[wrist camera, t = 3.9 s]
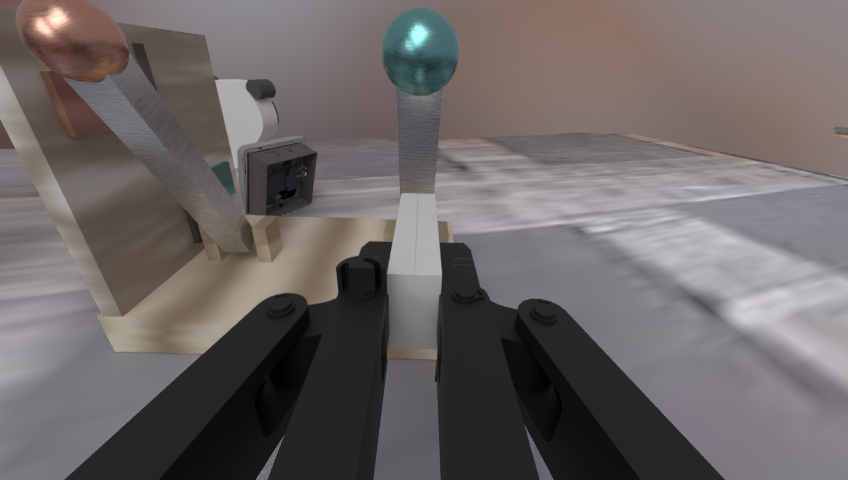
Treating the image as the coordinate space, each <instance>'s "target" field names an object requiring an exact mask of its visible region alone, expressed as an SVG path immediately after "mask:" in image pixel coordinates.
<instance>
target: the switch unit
mask: <svg viewBox="0 0 848 480" xmlns="http://www.w3.org/2000/svg"><path fill="white" fill-rule="evenodd" d="M16 11H17V8H15V7H8V6H1V5H0V119H1V121H2V123H3V125H4V127H5V129H6V131H7V133H8V135H9V137H10V138H11V141H12V143H13V144H14V146H15V148H16V150H17V152H18V154H19V156H20V158H21V160H22V162H23V164H24V166H25V168H26V170H27V171H28V173H29V175H30V177H31V179H32V181H33V183H34V185H35V187H36V189H37V191H38V193H39V195H40V196H41V198H42V200H43V202H44V204H45V206H46V208H47V210H48V212H49V214H50V216H51V218H52V220H53V221H54V223H55V225H56V227H57V229H58V231H59V233H60V235H61V237H62V239H63V241H64V243H65V245H66V246H67V248H68V250H69V252H70V254H71V256H72V258H73V260H74V262H75V264H76V266H77V268H78V270H79V271H80V273H81V275H82V277H83V279H84V281H85V283H86V285H87V287H88V289H89V291H90V293H91V295H92V297H93V298H94V300H95V302H96V304H97V306H98V308H99V310H100V312H101V313H100V314H98V315H97V316H96V317H97V319H98V320H99V322H100V324H101V326H102V328H103V330H104V332H105V334H106V336H107V337H108V339H109V341H110V343H111V345H112V347H113V349H114V351H115V352H139V353H180V354H204V353H205V352H206V351H207V350H208V349H209V348H210V347H211V346H212V345H213V344H215V343H216V342H217V341H218V340H219V339H220V338H221V337H222V336H223V335H225V334H226V333H227V332H228V331H229V330H230V329H231V328H232V327H233V326H234V325H236V324H237V323H238V322H239V321H240V320H241V319H242V318H243V317H244V316H245V315H247V314H248V313H249V312H250V311H251V310H252V309H253V308H254V307H255V306H256V305H258V304H259V303H260V302H262V301H263V300H265V299H266V298H268V297H271V296H274V295H276V294H282V293H296V294H299V295H302V296H303V297H304V298H305V299H306V300H307V303H308V305H311V304H317V303H322V302H326V301H330V300H332V299H335V298H336V297H337V295H338V284H337V274H336V266H337V265H338V264H339V263H340V262H341V261H343V260H345V259H346V258H350V257H354V256H359V253H360V250H361V247H363V246H364V245H365V244H366V243H367V242H369V241H383V242H393V237H394V232H395V226H396V221H397V220H388V219H356V218H325V217H294V216H263V215H246V214H245V210H244V205H243V201H242V197H241V192H240V188H239V184H238V179H237V175H236V170H235V166H234V162H233V157H232V153H231V148H230V144H229V140H228V135H227V131H226V126H225V122H224V118H223V113H222V109H221V104H220V100H219V96H218V91H217V87H216V82H215V78H214V74H213V69H212V65H211V61H210V56H209V52H208V48H207V43H206V39H205V36H204V35H198V34H191V33H184V32H177V31H170V30H163V29H157V28H150V27H144V26H137V25H130V24H123V23H117V25H118V26H119V27H120V29H121V30H122V32H123V34H124V35H125V38H126V40H127V43H128V46H129V53H130V54H131V55H132V57H133V58H134V60H135V61H136V63H137V64H138V65H139V67H140V68H141V70H142V71H143V73H144V74H145V75H146V77H147V78H148V80H149V81H150V82H151V84H152V85H153V87H154V88H155V90H156V91H157V92H158V94H159V95H160V97H161V98H162V100H163V101H164V102H165V104H166V105H167V107H168V108H169V109H170V111H171V112H172V114H173V115H174V117H175V118H176V119H177V121H178V122H179V124H180V125H181V127H182V128H183V129H184V131H185V132H186V134H187V135H188V137H189V138H190V139H191V141H192V142H193V144H194V145H195V146H196V148H197V149H198V151H199V152H200V154H201V155H202V156H203V158H204V159H205V161H206V162H207V164H208V165H209V166H210V168H211V169H212V171H213V172H214V173H215V175H216V176H217V178H218V179H219V181H220V182H221V183H222V185H223V186H224V188H225V189H226V191H227V192H228V193H229V195H230V196H231V198H232V199H233V200H234V202H235V203H236V205H237V206H238V208H239V209H240V210H241V212H242V213H243V215H244V216H245V218H246V219H247V220H248V222H249V223H250V225H251V226H252V227H253V228H252V232H253V236H254V243H253V246H252V249H251V252H250V253H248V252H224V251H223V250H222V249H221V248H220V246H219V245H218V244H217V243H216V242H215V241H214V240H213V239H212V238H211V237H210V236H209V235H208V234H207V232H206V231H205V230H204V229H203V228H202V227H201V226H200V225H199V224H198V223H197V222H196V221H195V220H194V218H193V217H192V216H191V215H190V214H189V213H188V212H187V211H186V210H185V209H184V208H183V207H182V206H181V204H180V203H179V202H178V201H177V200H176V199H175V198H174V197H173V196H172V195H171V194H170V193H169V191H168V190H167V189H166V188H165V187H164V186H163V185H162V184H161V183H160V182H159V181H158V180H157V179H156V177H155V176H154V175H153V174H152V173H151V172H150V171H149V170H148V169H147V168H146V167H145V166H144V165H143V163H142V162H141V161H140V160H139V159H138V158H137V157H136V156H135V155H134V154H133V153H132V152H131V151H130V149H129V148H128V147H127V146H126V145H125V144H124V143H123V142H122V141H121V140H120V139H119V138H118V136H117V135H116V134H115V133H114V132H113V131H112V130H111V129H110V128H109V127H108V126H107V125H106V124H105V122H104V121H103V120H102V119H101V118H100V117H99V116H98V115H97V114H96V113H95V112H94V111H93V110H92V108H91V107H90V106H89V105H88V104H87V103H86V102H85V101H84V100H83V99H82V98H81V97H80V96H79V94H78V93H77V92H76V91H75V90H74V89H73V88H72V87H71V86H70V85H69V84H68V83H67V81H66V80H65V79H64V78H63V77H62V76H61V75H59V74H57V73H55V72H53V71H51V70H50V69H48V68H47V67H45V66H44V65H42V64H41V63H40V62H39V61H37V60H36V59H35V58H34V57H33V56H32V55H31V54H30V52H29V51H28V50H27V49H26V48H25V46H24V45H23V43H22V41H21V39H20V37H19V35H18V32H17V29H16V24H15V15H16ZM437 222H438V234H439V242H445V243H454V239H453V233H452V228H451V222H450V221H437ZM387 359H424V360H437V350H433V349H395V348H387Z"/></svg>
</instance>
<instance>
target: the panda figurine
mask: <svg viewBox="0 0 848 480" xmlns="http://www.w3.org/2000/svg"><path fill="white" fill-rule="evenodd" d="M214 78H215V82H216V87H217V91H218V96H219V100H220V104H221V109H222V113H223V118H224V122H225V126H226V131H227V135H228V140H229V144H230V148H231V153H232V157H233V162H234V166H235V170H236V175H237V179H238V158H237V151H238V149H239V148H240V147H241V146H242V145H247V144H252V143H258V142H263V141H268V140H269V139H270V138H271V137H272V136H273V135H274V133H275V131H276V128H277V124H278V123H279V117H278V113H277V110H276V107H275V106H274V103H273V102H272V101H271V100H270V98H272V97H274V96H275V93H276V90H275V87H274V85H273V84H272V82H271V81H269V80H267V79H261V80H248V81H246V80H241V79H229V80H228V79H227V80H226V79H225V80H219V79H218V78H217V77H215V76H214Z"/></svg>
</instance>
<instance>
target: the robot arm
mask: <svg viewBox="0 0 848 480" xmlns="http://www.w3.org/2000/svg"><path fill="white" fill-rule="evenodd" d="M336 274H337V284H338V295H337V297H336V298H335V299H332V300H330V301H326V302H322V303H317V304H311V305H308V303H307V300H306V299H305V298H304V297H303V296H302V295H299V294H296V293H282V294H276V295H274V296H271V297H268V298H266V299H265V300H263V301H262V302H260V303H259V304H258V305H256V306H255V307H254V308H253V309H252V310H251V311H250V312H249V313H248V314H247V315H245V316H244V317H243V318H242V319H241V320H240V321H239V322H238V323H237V324H236V325H234V326H233V327H232V328H231V329H230V330H229V331H228V332H227V333H226V334H225V335H223V336H222V337H221V338H220V339H219V340H218V341H217V342H216V343H215V344H213V345H212V346H211V347H210V348H209V349H208V350H207V351H206V352H205V353H204V354H202V355H201V356H200V357H199V358H198V359H197V360H196V361H195V362H194V363H193V364H191V365H190V366H189V367H188V368H187V369H186V370H185V371H184V372H183V373H182V374H180V375H179V376H178V377H177V378H176V379H175V380H174V381H173V382H172V383H171V384H169V385H168V386H167V387H166V388H165V389H164V390H163V391H162V392H161V393H159V394H158V395H157V396H156V397H155V398H154V399H153V400H152V401H151V402H150V403H148V404H147V405H146V406H145V407H144V408H143V409H142V410H141V411H140V412H139V413H137V414H136V415H135V416H134V417H133V418H132V419H131V420H130V421H129V422H128V423H126V424H125V425H124V426H123V427H122V428H121V429H120V430H119V431H118V432H117V433H115V434H114V435H113V436H112V437H111V438H110V439H109V440H108V441H107V442H106V443H104V444H103V445H102V446H101V447H100V448H99V449H98V450H97V451H96V452H94V453H93V454H92V455H91V456H90V457H89V458H88V459H87V460H86V461H85V462H83V463H82V464H81V465H80V466H79V467H78V468H77V469H76V470H75V471H74V472H72V473H71V474H70V475H69V476H68V477H67V478H66V479H65V480H256V478H257V477H258V475H259V473H260V472H261V470H262V469H263V467H264V466H265V464H266V462H267V461H268V459H269V458H270V456H271V455H272V453H273V451H274V450H275V448H276V447H277V445H278V443H279V442H280V440H281V439H282V437H283V436H284V438H283V440H282V443H281V446H280V448H279V451H278V454H277V456H276V459H275V462H274V464H273V467H272V470H271V472H270V475H269V478H268V480H373V478H374V469H375V461H376V453H377V445H378V436H379V428H380V420H381V412H382V403H383V395H384V387H385V379H386V370H387V348H395V349H433V350H437V361H436V375H435V381H437V393H438V420H439V446H440V473H441V480H539V476H538V472H537V469H536V465H535V462H534V458H533V454H532V451H531V447H530V444H529V440H528V436H527V433H526V429H525V426H526V428H527V430H528V432H529V434H530V435H531V437H532V439H533V441H534V443H535V445H536V447H537V449H538V451H539V452H540V454H541V456H542V458H543V460H544V462H545V464H546V466H547V467H548V469H549V471H550V473H551V475H552V477H553V479H554V480H725V479H724V478H723V477H722V476H721V475H720V474H719V473H718V472H717V471H716V470H715V469H714V468H713V467H712V466H711V465H710V463H709V462H708V461H707V460H706V459H705V458H704V457H703V456H702V455H701V454H700V453H699V452H698V451H697V450H696V449H695V448H694V447H693V445H692V444H691V443H690V442H689V441H688V440H687V439H686V438H685V437H684V436H683V435H682V434H681V433H680V432H679V431H678V430H677V428H676V427H675V426H674V425H673V424H672V423H671V422H670V421H669V420H668V419H667V418H666V417H665V416H664V415H663V414H662V413H661V411H660V410H659V409H658V408H657V407H656V406H655V405H654V404H653V403H652V402H651V401H650V400H649V399H648V398H647V397H646V396H645V395H644V393H643V392H642V391H641V390H640V389H639V388H638V387H637V386H636V385H635V384H634V383H633V382H632V381H631V380H630V379H629V378H628V376H627V375H626V374H625V373H624V372H623V371H622V370H621V369H620V368H619V367H618V366H617V365H616V364H615V363H614V362H613V361H612V360H611V358H610V357H609V356H608V355H607V354H606V353H605V352H604V351H603V350H602V349H601V348H600V347H599V346H598V345H597V344H596V343H595V341H594V340H593V339H592V338H591V337H590V336H589V335H588V334H587V333H586V332H585V331H584V330H583V329H582V328H581V327H580V326H579V324H578V323H577V322H576V321H575V320H574V319H573V318H572V317H571V316H570V315H569V314H568V313H567V312H566V311H565V310H564V309H563V308H561V307H560V306H559V305H557V304H555V303H552V302H550V301H547V300H542V299H529V300H525V301H523V302H522V303H521V304H520V305H519V306H518V310H517V309H512V308H508V307H504V306H501V305H498V304H496V303H494V302H492V301H490V300H489V296H488V295H487V293H486V291H485V290H483V289H482V288H481V287H480V285H479V281H478V277H477V273H476V269H475V266H474V261H473V257H472V254H471V250H470V249H469V248H468V247H467V246H466V245H465V244H464V243H445V242H439V234H438V222H437V211H436V199H435V194H416V193H401V199H400V204H399V210H398V215H397V221H396V226H395V232H394V237H393V242H383V241H369V242H367V243H366V244H365V245H364V246H363V247H361V250H360V253H359V256H354V257H350V258H346V259H345V260H343V261H341V262H340V263H339V264H338V265H337V266H336ZM524 424H525V426H524ZM284 434H285V435H284Z"/></svg>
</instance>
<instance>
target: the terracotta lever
mask: <svg viewBox="0 0 848 480" xmlns="http://www.w3.org/2000/svg"><path fill="white" fill-rule="evenodd" d="M15 24H16V29H17V32H18V35H19V37H20V39H21V41H22V43H23V45H24V46H25V48H26V49H27V50H28V51H29V52H30V54H31V55H32V56H33V57H34V58H35V59H36V60H37V61H39V62H40V63H41V64H42V65H44V66H45V67H47V68H48V69H50V70H51V71H53V72H55V73H57V74H59V75H61V76H62V77H63V78H64V79H65V80H66V81H67V83H68V84H69V85H70V86H71V87H72V88H73V89H74V90H75V91H76V92H77V93H78V94H79V96H80V97H81V98H82V99H83V100H84V101H85V102H86V103H87V104H88V105H89V106H90V107H91V108H92V110H93V111H94V112H95V113H96V114H97V115H98V116H99V117H100V118H101V119H102V120H103V121H104V122H105V124H106V125H107V126H108V127H109V128H110V129H111V130H112V131H113V132H114V133H115V134H116V135H117V136H118V138H119V139H120V140H121V141H122V142H123V143H124V144H125V145H126V146H127V147H128V148H129V149H130V151H131V152H132V153H133V154H134V155H135V156H136V157H137V158H138V159H139V160H140V161H141V162H142V163H143V165H144V166H145V167H146V168H147V169H148V170H149V171H150V172H151V173H152V174H153V175H154V176H155V177H156V179H157V180H158V181H159V182H160V183H161V184H162V185H163V186H164V187H165V188H166V189H167V190H168V191H169V193H170V194H171V195H172V196H173V197H174V198H175V199H176V200H177V201H178V202H179V203H180V204H181V206H182V207H183V208H184V209H185V210H186V211H187V212H188V213H189V214H190V215H191V216H192V217H193V218H194V220H195V221H196V222H197V223H198V224H199V225H200V226H201V227H202V228H203V229H204V230H205V231H206V232H207V234H208V235H209V236H210V237H211V238H212V239H213V240H214V241H215V242H216V243H217V244H218V245H219V246H220V248H221V249H222V250H223V251H224V252H248V253H250V252H251V249H252V246H253V243H254V236H253V232H252V228H253V227H252V226H251V225H250V223H249V222H248V220H247V219H246V218H245V216H244V215H243V213H242V212H241V210H240V209H239V208H238V206H237V205H236V203H235V202H234V200H233V199H232V198H231V196H230V195H229V193H228V192H227V191H226V189H225V188H224V186H223V185H222V183H221V182H220V181H219V179H218V178H217V176H216V175H215V173H214V172H213V171H212V169H211V168H210V166H209V165H208V164H207V162H206V161H205V159H204V158H203V156H202V155H201V154H200V152H199V151H198V149H197V148H196V146H195V145H194V144H193V142H192V141H191V139H190V138H189V137H188V135H187V134H186V132H185V131H184V129H183V128H182V127H181V125H180V124H179V122H178V121H177V119H176V118H175V117H174V115H173V114H172V112H171V111H170V109H169V108H168V107H167V105H166V104H165V102H164V101H163V100H162V98H161V97H160V95H159V94H158V92H157V91H156V90H155V88H154V87H153V85H152V84H151V82H150V81H149V80H148V78H147V77H146V75H145V74H144V73H143V71H142V70H141V68H140V67H139V65H138V64H137V63H136V61H135V60H134V58H133V57H132V55H131V54H130V53H129V46H128V43H127V40H126V38H125V35H124V34H123V32H122V30H121V29H120V27H119V26H118V25H117V23H116V22H115V21H114V20H113V19H112V18H111V17H110V16H109V15H108V14H107V13H106V12H104V11H103V10H102V9H100V8H99V7H98V6H96V5H94V4H93V3H91V2H89V1H87V0H23V1H22V2H21V3H20V5H19V7H18V8H17V11H16V15H15Z"/></svg>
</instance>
